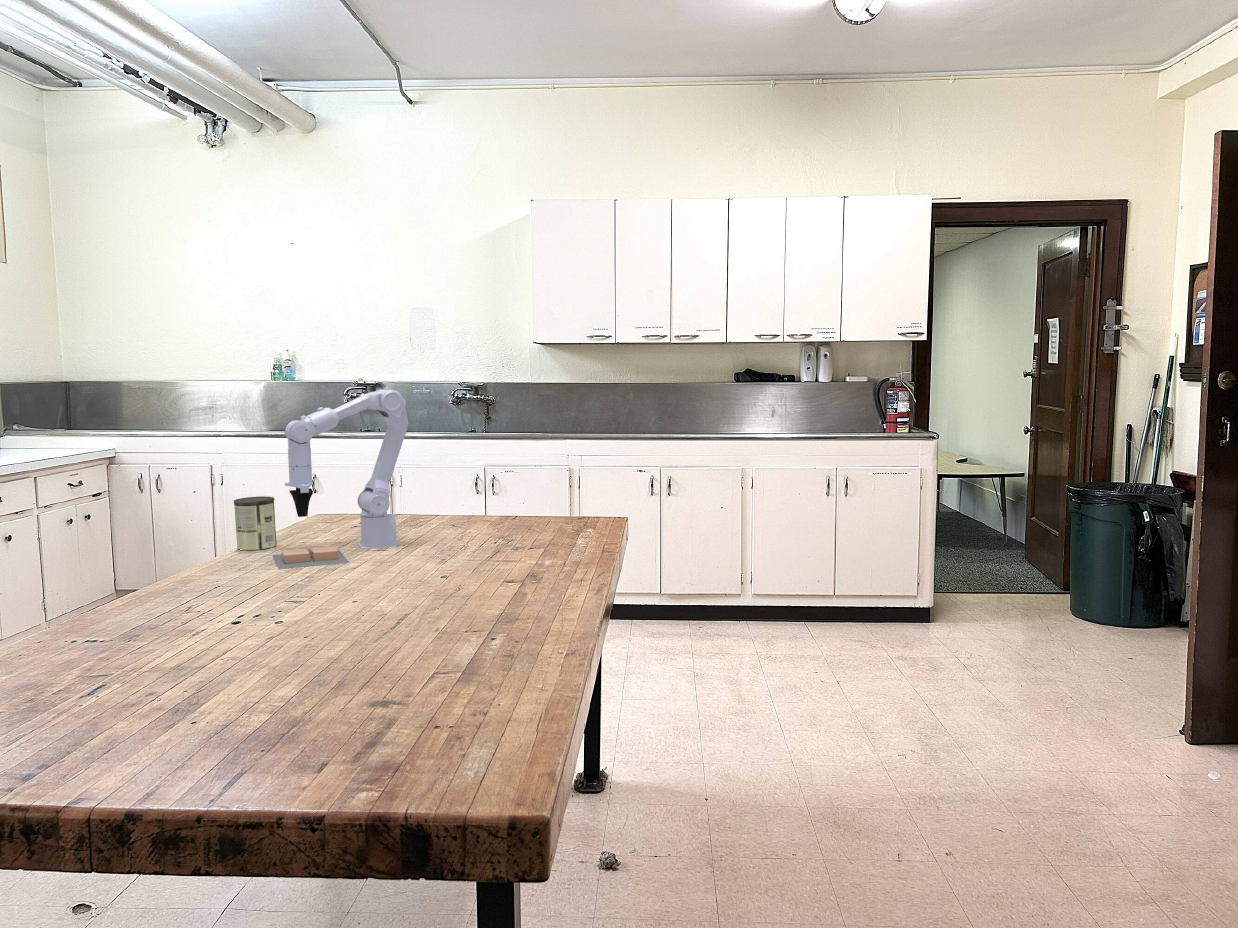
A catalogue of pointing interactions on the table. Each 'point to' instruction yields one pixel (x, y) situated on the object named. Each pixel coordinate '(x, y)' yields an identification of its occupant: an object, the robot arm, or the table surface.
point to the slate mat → (283, 565)
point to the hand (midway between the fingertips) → (302, 516)
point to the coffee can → (255, 524)
